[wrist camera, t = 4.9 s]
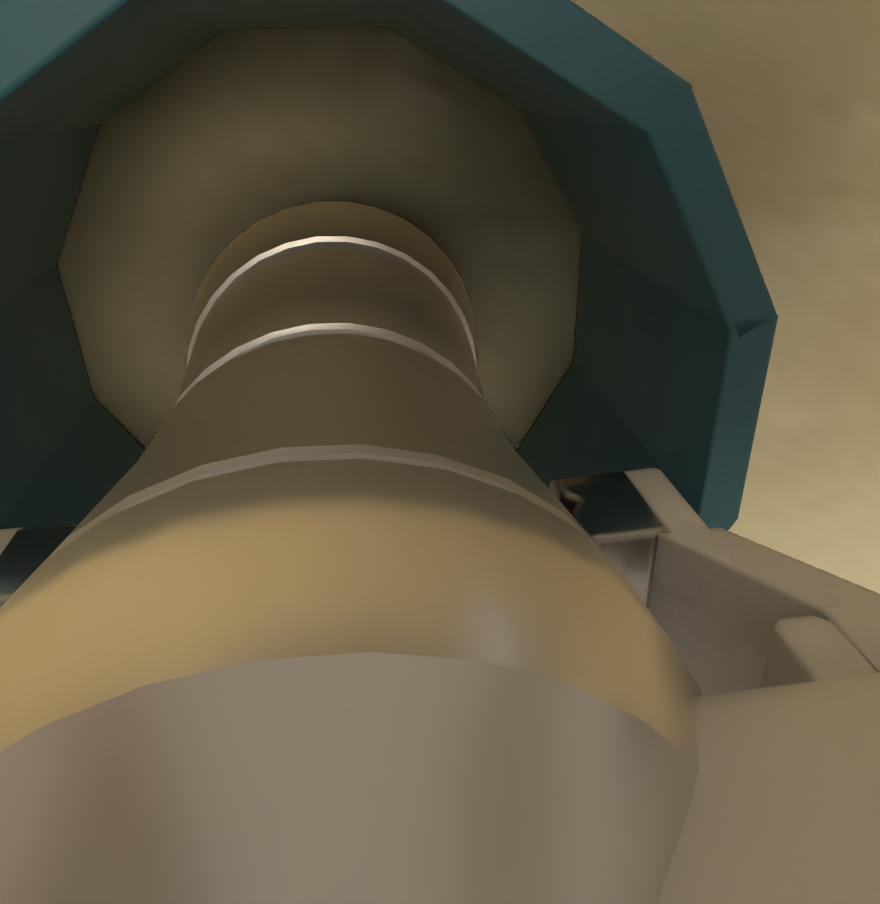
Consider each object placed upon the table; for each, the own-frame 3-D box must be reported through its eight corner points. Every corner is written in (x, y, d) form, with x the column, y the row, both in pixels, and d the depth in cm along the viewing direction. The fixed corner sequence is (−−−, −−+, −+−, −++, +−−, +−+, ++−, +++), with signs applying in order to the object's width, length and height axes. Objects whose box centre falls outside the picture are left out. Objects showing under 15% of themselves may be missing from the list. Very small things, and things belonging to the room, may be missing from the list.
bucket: (-62, -9, 15) (-429, -81, 8) (631, -24, 16) (863, -97, 9) (114, 568, 21) (8, 810, 14) (587, 521, 23) (699, 720, 16)
